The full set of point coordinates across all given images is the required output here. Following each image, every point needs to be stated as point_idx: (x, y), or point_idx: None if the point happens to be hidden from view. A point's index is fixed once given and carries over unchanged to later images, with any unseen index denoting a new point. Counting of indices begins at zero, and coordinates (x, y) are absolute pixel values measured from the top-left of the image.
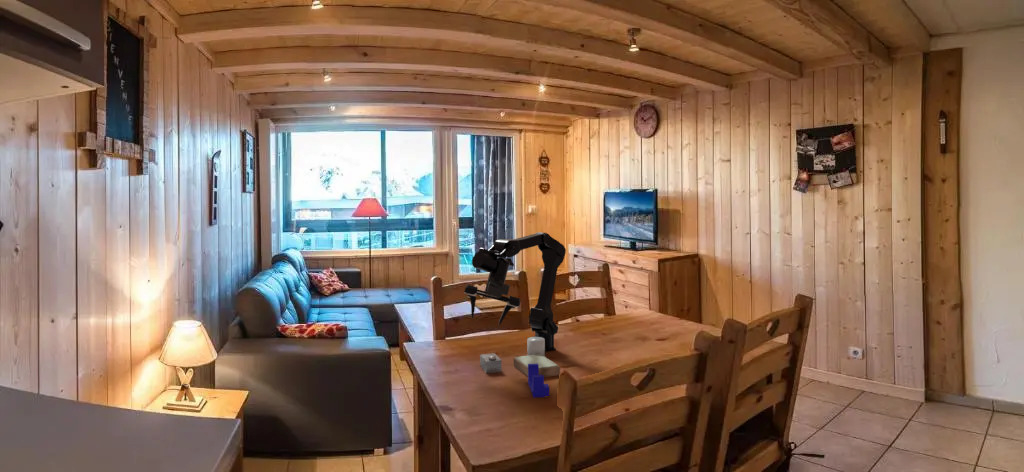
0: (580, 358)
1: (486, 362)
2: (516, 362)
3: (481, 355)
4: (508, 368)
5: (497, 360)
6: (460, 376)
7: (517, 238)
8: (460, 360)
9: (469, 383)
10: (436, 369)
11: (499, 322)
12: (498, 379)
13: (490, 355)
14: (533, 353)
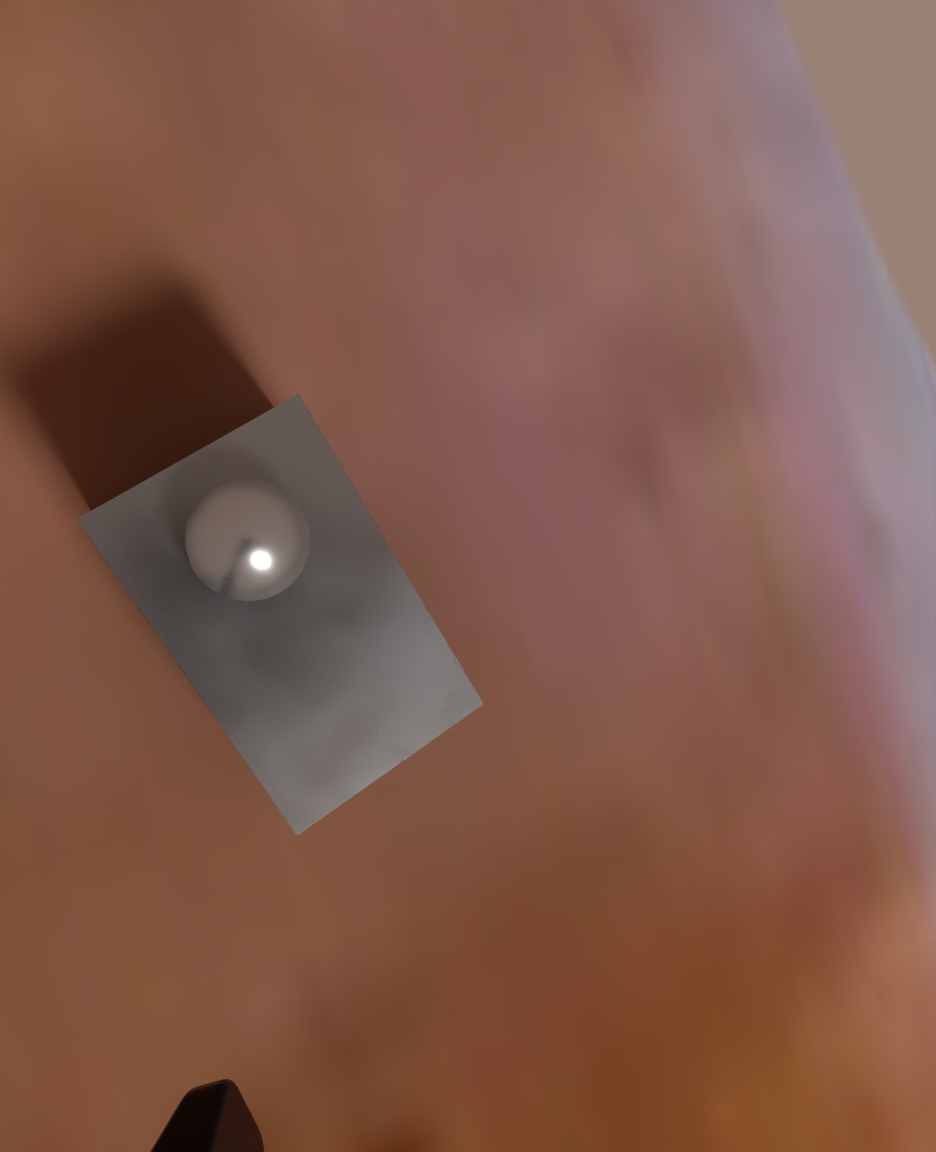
0: None
1: (295, 395)
2: None
3: (454, 673)
4: (34, 674)
5: (140, 488)
6: (541, 249)
7: None
8: (694, 786)
9: (371, 10)
10: (827, 434)
11: (204, 1145)
12: (41, 196)
13: (326, 708)
14: None
